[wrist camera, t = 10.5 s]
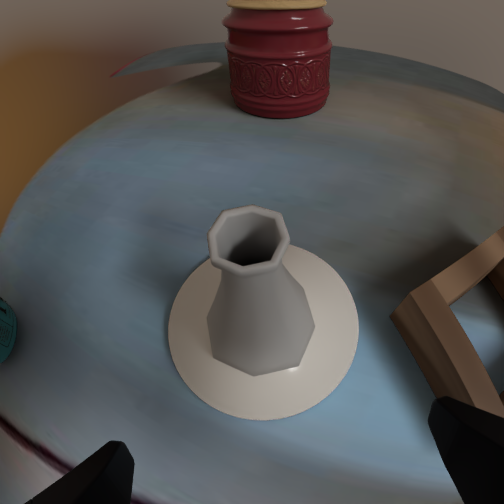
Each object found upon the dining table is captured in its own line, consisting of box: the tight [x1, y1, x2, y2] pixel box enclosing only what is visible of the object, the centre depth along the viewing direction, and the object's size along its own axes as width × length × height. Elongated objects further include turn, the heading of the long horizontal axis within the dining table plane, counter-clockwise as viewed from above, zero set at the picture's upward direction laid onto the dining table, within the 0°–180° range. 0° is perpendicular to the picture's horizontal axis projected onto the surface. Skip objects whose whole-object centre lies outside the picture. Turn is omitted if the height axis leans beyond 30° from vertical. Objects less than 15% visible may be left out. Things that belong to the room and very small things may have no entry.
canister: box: [222, 0, 333, 118], centre depth 30 cm, size 13×13×18 cm
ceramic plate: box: [168, 245, 359, 420], centre depth 20 cm, size 13×13×1 cm
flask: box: [207, 204, 315, 377], centre depth 16 cm, size 7×7×10 cm
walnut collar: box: [390, 226, 504, 418], centre depth 16 cm, size 13×13×4 cm
